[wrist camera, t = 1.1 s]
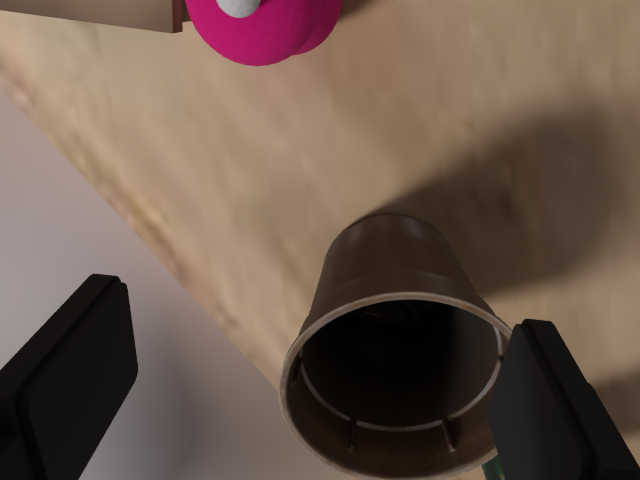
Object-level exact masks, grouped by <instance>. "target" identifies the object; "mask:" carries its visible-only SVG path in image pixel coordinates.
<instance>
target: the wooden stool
mask: <svg viewBox="0 0 640 480" xmlns="http://www.w3.org/2000/svg"><path fill="white" fill-rule="evenodd" d="M0 10H3V11H10V12H18V13H25V14H33V15H40V16H48V17H55V18H62V19H70V20H77V21H85V22H92V23H100V24H107V25H114V26H122V27H129V28H137V29H144V30H152V31H159V32H167V33H178V32H182V22H187V21H192V20H191V18H190V16H189V12H188V9H187V6H186V2H185V0H0Z"/></svg>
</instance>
